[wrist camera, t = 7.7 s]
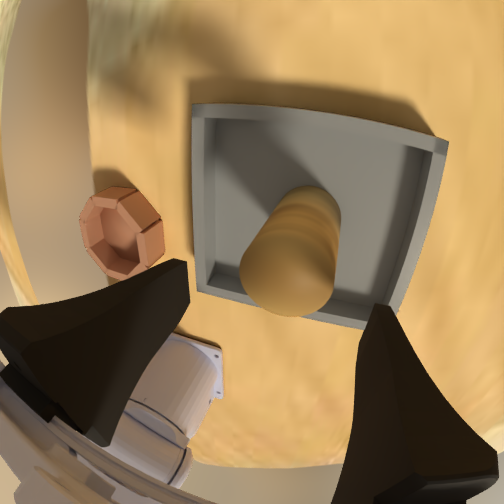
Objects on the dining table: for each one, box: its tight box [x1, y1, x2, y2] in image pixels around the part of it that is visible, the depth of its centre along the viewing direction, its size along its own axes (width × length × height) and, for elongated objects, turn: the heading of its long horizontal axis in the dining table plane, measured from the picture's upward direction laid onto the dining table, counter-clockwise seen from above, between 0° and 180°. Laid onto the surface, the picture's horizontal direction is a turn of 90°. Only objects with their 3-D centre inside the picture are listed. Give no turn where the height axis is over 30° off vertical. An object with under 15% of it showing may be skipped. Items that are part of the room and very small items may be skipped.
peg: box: [239, 186, 341, 317], centre depth 15 cm, size 4×4×7 cm
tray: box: [192, 103, 449, 330], centre depth 17 cm, size 13×14×2 cm
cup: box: [79, 186, 165, 281], centre depth 23 cm, size 8×8×2 cm
